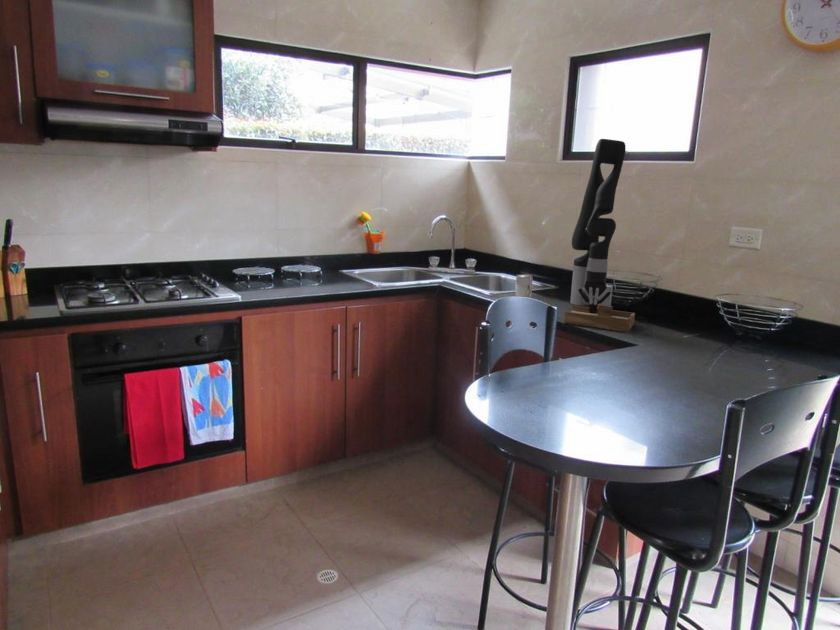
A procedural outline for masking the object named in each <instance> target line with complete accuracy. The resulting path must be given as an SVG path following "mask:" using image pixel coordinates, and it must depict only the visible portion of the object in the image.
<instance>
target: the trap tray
mask: <svg viewBox="0 0 840 630" xmlns="http://www.w3.org/2000/svg"><path fill="white" fill-rule="evenodd" d="M598 311H599V308H597V312H596V313H595V314H591V313H590V312H589V306H582V305H574V304H572V310H571V311H565V312H564V319H563V321H564V322H563V324H565V323H569V324H568V325H572V324H577V325H576V326H580V325H582V326H581V327H587V326H589V328H595V327H598V328H597V329H602V328H606V329H605V330H610V329H612V331H617V330H618V332H626V333H629V332H630V330H631V328H633V326H634V325H635V316H636V312H630V311H622V310H614V309H612V316H611V317H605V316H598Z"/></svg>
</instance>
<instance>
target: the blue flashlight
mask: <svg viewBox="0 0 840 630" xmlns="http://www.w3.org/2000/svg"><path fill="white" fill-rule="evenodd" d="M514 288H515V289H514V290H515V291H514V292H515V297H516V296H521V297H530V298H531V295H532V291H533V275H531V274H530V275H529V274H516V278H515V286H514Z"/></svg>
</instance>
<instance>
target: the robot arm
mask: <svg viewBox="0 0 840 630" xmlns="http://www.w3.org/2000/svg"><path fill="white" fill-rule="evenodd" d="M626 147H627V146H626V143H625V141H622V140H617V139H608V138H607V139H606V138H601V139H599V140H598V141H597V144H596V145H595V150H594V155H593V160H592V166H591V171H590V174H589V179H588V182H587V184H586V189H585V192H584V196H583V199H582V204H581V209H580V213H579V217H578V219H577V222H576V225H575V227H574V231H573V233H572V237H571V238H572V239H571V247H572V249H573V250H576V251H586V253H585V254H583V255H581V256H579V257H576V258H574V260H573V265H572V266H573V267H572V279H571V291H570V302H569V303H570V304H571V305H574V306H582V307H589V312H590V313H591V314H595V313H596V312H597V306H598V304H601V303H602V302H603V301H604V300H605V299H606V298H607V297H608V296H609V295H610V294H611V293H612V294H613V291H612V292H611V291H609V290H608V289H607V286H606V285H607V284H606V283H607V275H608V274H607V273H608V266H609V264H608V260H609V259H608V258H609V250H610V244H611V241H612V238H613V236H614V234H615V232H616V228H617V224H616V221H615V220H614V219H613V218H610V217H609V218H607V217H601V216H606V215H610V214H612V213H613V211H614V206H615V199H616V191H617V187H618V183H619V180H620V176H621V173H622V168H623V164H624V160H625V155H626ZM602 164H605V165H606V164H607V165H612V166H613V167H612V170H611V172H610V173H609V175H608V176H607V178H604V176H603V174H602V173H603V172H602V169H601V168H602V167H601V165H602ZM601 237H603V238H604V239H603V240H601V241H600V239H599V238H601ZM604 291H605V293H604V294H605V296H604V297H603V298H602V299H601V300H599V296H600V295H601V294H602V293H603V292H604Z"/></svg>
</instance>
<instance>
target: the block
mask: <svg viewBox="0 0 840 630" xmlns="http://www.w3.org/2000/svg"><path fill="white" fill-rule="evenodd" d="M613 307H614V306H612V305H611V306H605V305H600V306H599V311H598V316H605V317H611V316H612V310H613Z"/></svg>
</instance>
